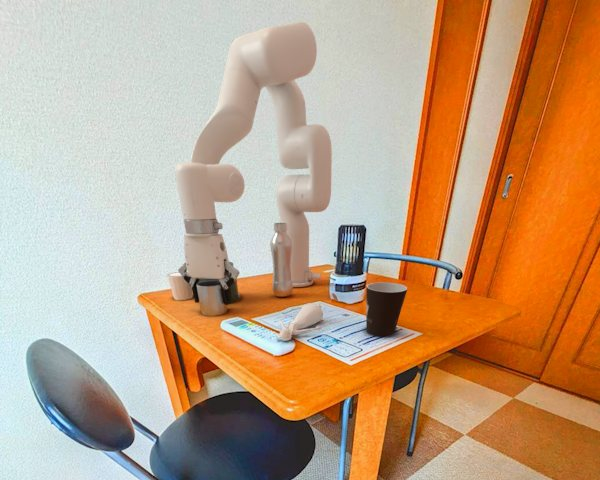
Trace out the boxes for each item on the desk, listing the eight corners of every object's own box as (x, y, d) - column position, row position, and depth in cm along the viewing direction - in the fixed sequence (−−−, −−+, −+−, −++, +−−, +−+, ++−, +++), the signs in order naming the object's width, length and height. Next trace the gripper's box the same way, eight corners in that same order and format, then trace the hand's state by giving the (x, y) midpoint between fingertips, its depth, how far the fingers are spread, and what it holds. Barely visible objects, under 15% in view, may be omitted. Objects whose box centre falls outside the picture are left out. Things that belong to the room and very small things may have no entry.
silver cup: (230, 308, 87) (227, 281, 83) (220, 316, 82) (216, 287, 77) (208, 307, 88) (204, 279, 84) (196, 314, 83) (191, 285, 79)
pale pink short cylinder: (180, 302, 93) (175, 277, 89) (167, 298, 96) (161, 274, 92) (199, 296, 97) (195, 273, 94) (186, 293, 101) (181, 270, 97)
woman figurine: (338, 303, 75) (305, 332, 63) (337, 320, 78) (306, 352, 65) (295, 297, 80) (257, 323, 67) (296, 314, 83) (259, 342, 70)
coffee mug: (392, 341, 67) (400, 294, 62) (355, 333, 71) (360, 288, 66) (407, 325, 75) (416, 282, 70) (374, 319, 79) (379, 278, 74)
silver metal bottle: (268, 297, 96) (264, 223, 85) (278, 292, 101) (275, 222, 90) (287, 299, 94) (285, 224, 83) (296, 294, 99) (295, 222, 88)
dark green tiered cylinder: (246, 294, 99) (242, 260, 94) (230, 305, 89) (225, 268, 84) (211, 292, 102) (206, 259, 96) (192, 303, 92) (185, 267, 86)
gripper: (241, 227, 75) (248, 300, 85) (177, 226, 79) (191, 296, 88) (229, 230, 69) (238, 308, 79) (159, 228, 73) (176, 304, 82)
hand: (213, 301), depth 84 cm, fingers open, 7 cm apart
